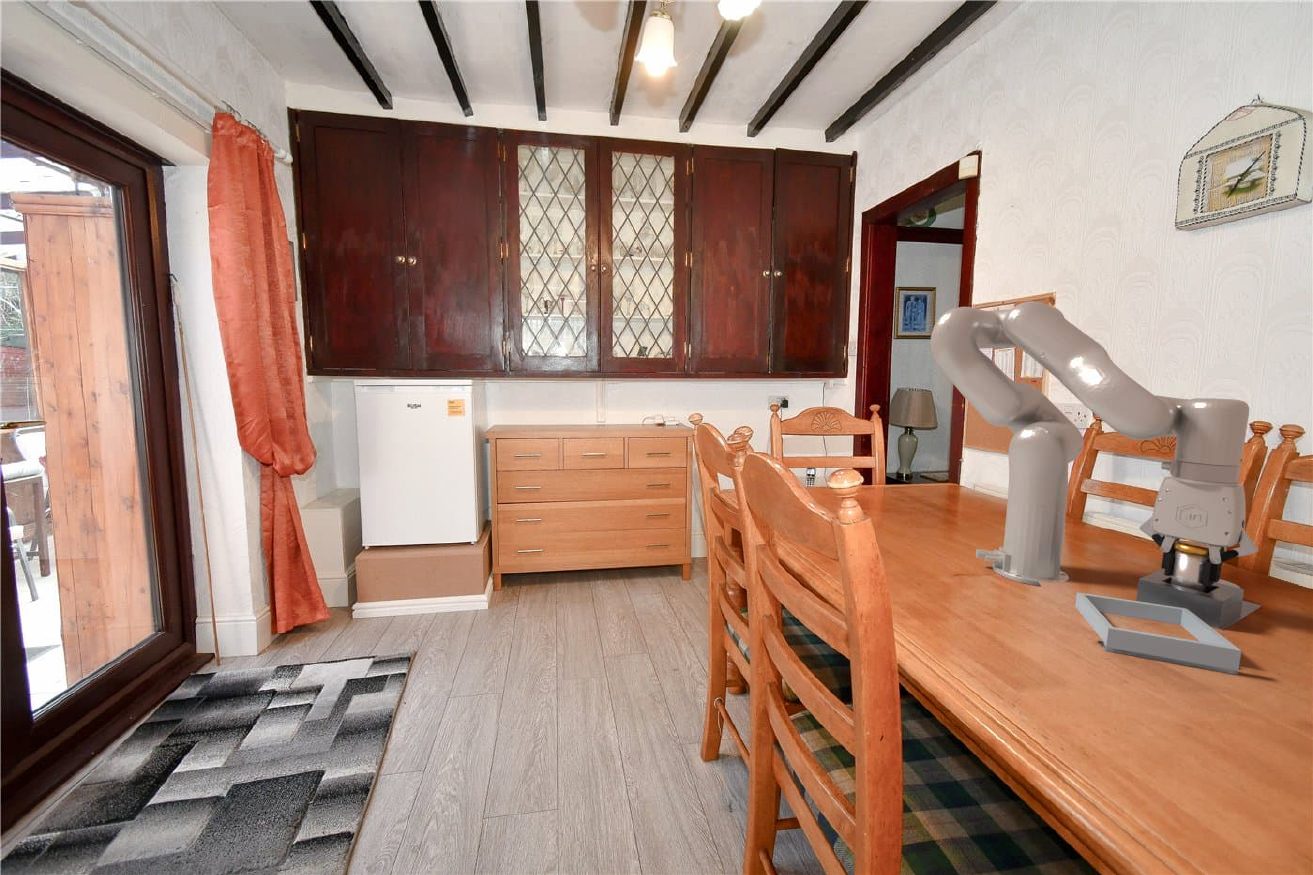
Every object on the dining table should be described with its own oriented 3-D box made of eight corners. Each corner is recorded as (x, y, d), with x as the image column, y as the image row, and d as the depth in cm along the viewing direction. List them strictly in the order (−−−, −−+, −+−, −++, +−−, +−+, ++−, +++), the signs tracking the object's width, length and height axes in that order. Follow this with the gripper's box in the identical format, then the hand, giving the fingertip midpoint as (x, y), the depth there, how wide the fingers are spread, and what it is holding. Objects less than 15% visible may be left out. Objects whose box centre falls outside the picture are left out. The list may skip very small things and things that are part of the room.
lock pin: (1173, 609, 85) (1182, 546, 84) (1160, 598, 89) (1168, 538, 88) (1210, 615, 83) (1220, 551, 82) (1195, 604, 87) (1204, 542, 86)
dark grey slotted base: (1222, 636, 79) (1227, 599, 78) (1131, 607, 88) (1135, 575, 88) (1261, 611, 88) (1266, 578, 87) (1174, 587, 97) (1178, 558, 97)
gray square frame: (1105, 650, 74) (1108, 628, 74) (1074, 611, 87) (1076, 592, 86) (1237, 675, 68) (1241, 650, 68) (1183, 629, 81) (1186, 608, 81)
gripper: (1129, 466, 89) (1116, 566, 91) (1275, 485, 74) (1255, 603, 76) (1147, 463, 92) (1134, 559, 95) (1290, 481, 78) (1271, 594, 80)
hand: (1188, 578), depth 85 cm, fingers closed on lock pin, 4 cm apart
